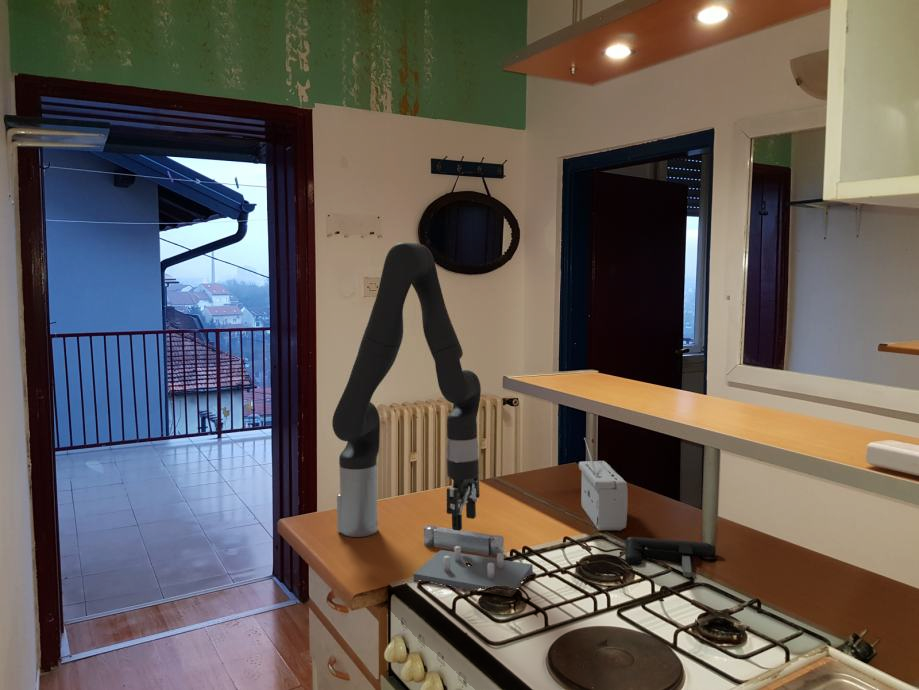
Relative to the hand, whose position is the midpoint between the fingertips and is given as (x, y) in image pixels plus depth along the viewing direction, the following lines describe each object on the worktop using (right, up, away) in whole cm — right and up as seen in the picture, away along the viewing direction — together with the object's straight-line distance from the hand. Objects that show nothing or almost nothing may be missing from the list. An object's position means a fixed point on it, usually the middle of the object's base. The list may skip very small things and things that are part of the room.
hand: (464, 523), depth 165 cm
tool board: (+2, -8, -14) cm, 16 cm away
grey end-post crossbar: (0, -6, +1) cm, 6 cm away
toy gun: (+46, -7, -7) cm, 48 cm away
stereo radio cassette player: (+37, -4, +21) cm, 42 cm away
